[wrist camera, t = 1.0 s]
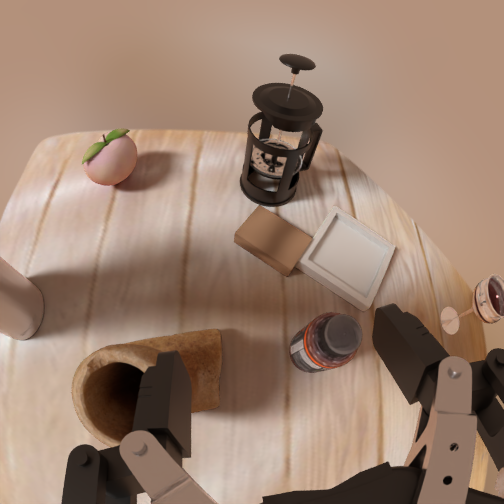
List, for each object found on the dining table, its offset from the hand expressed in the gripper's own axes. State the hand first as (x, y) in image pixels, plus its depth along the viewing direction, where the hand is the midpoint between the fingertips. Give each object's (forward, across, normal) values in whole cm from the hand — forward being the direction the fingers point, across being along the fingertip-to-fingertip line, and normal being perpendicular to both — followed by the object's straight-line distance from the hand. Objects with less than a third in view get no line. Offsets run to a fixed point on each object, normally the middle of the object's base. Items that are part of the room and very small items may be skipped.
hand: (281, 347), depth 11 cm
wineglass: (+19, -32, +24) cm, 44 cm away
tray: (+28, -15, +13) cm, 34 cm away
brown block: (+30, -4, +9) cm, 32 cm away
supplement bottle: (+18, -6, +20) cm, 27 cm away
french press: (+39, -6, +3) cm, 40 cm away
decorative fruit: (+40, +19, -3) cm, 45 cm away
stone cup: (+15, +12, +18) cm, 27 cm away
